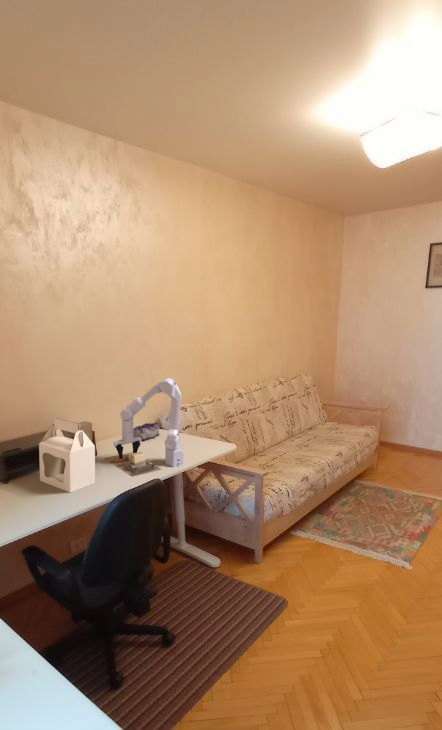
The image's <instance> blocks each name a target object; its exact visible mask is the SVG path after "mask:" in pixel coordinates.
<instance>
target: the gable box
mask: <svg viewBox="0 0 442 730" xmlns="http://www.w3.org/2000/svg"><path fill="white" fill-rule="evenodd" d="M78 423H79V422H72V421H69V420H64V419H61V418H55V419H54V423H53V424H52V423H51V424H50V427H48V430H47V431H46V432H45V434H44V436H43V437H42V439H41V440H40V441H39V443H38V451H39V452H38V454H39V460H38V461H39V482H42V483H45V484H46V485H49V486H51V487H55V488H57V489H59V490H63V491H65V492H67V493H73V492H75V491H79V490H81V489H84V488H87V487H89V486H91V485H94V484H96V446H95V444H94V443H93V441H92V442H91V440H90V439H89V438H88V437H87V435H86V434H85V433H84V432H83V431H82V430H80V429H81V425H78ZM62 431H65V432H67V433H68V432H72V433H75V436H73V438H71V437H67V436H64V434H63V432H62Z"/></svg>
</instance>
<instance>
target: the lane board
mask: <svg viewBox="0 0 442 730" xmlns="http://www.w3.org/2000/svg"><path fill="white" fill-rule="evenodd" d="M122 454H123V456H126V455H129V454H133V452H126V453H122ZM116 457H119V454H118V455H117V454H116V455H111V456H107V457H104V458H103V459H105V460H106V461H108V462H109V463H110V464H112V465H114V466H115V467H117V468H118V469H119V470H121V471H123V472H124V473H126V474H127V475H128V476H130V477H132V478H133V477H137V476H141V475H144V474H145V475H146V474H149V473H153V472H158V471H162V470H163V469H162V468H161V467H159V466H156V465H155V463H152V462H151V461H149V460H147V459H146V465H145V466H140V467H136V466H134V465H132V464H131V463H129V460H125V461H120V462H115V461H114V458H116Z"/></svg>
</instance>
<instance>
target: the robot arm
mask: <svg viewBox="0 0 442 730" xmlns="http://www.w3.org/2000/svg"><path fill="white" fill-rule="evenodd" d="M177 383H178V382H177V381H175V380H174V379H173V378H171V377H166V378H164V379H163V380H161V381H160V382H158V383H157V384H155V385H153V386H152V387H151V388H150V389H148V391H147V392H146V393H145V394H143V396H141V397H137V398H136V397H135V398H134V399H132V402H130V403H129V404H127V405H126V407H125V408H123V409H122V410H121V412H120V413H119V414H120V418H121V439H119V440H114V441H113V446H114V447H115V449H116V451H117V453H118V455H119V458H120V459H122V458H123V454H124V453H123V452H124V451H123V450H124V446H123V445H127V444H128V445H129V444H131V445H132V453H138V452H139V451H138V450H139V449H140V446H141V443H142V440H141V438H140V437H137V438H133V428H134V417H135V415H136V414H138V413H140V412H141V410H142V409H144V407H145V406H146V402H147V401H149V400H150V399H151V398H153V397H154V395H156V394H161V393H164V394H166V395H167V396H168V397H169V398H170V399H171V400H170V403H171V404H170V412H169V423H168V431H167V437H166V438H165V440H164V446H165V448H164V449H165V453H164V456H165V459H164V460H165V461H164V462H165V465H167V466H170V467H171V468H175V467H180V466H184V453H183V451H182V450H181V446H180V444H179V443H180V442H181V436H180V429H179V428H180V415H181V407H182V406H181V404H182V393H181V390H180V389H179V387H178V384H177Z"/></svg>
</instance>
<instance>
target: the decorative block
mask: <svg viewBox="0 0 442 730" xmlns="http://www.w3.org/2000/svg"><path fill="white" fill-rule="evenodd" d="M77 423H78V425H81V429H80V430H82V431H83V432H84V433H85V434H86V435H87V437H88V438H89V439H90V440H91V442H92V443H93V423H92V422H90V421H81V422H77ZM67 435H68V436H72V437H74V436H75V433H72V432H68V431H67Z"/></svg>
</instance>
